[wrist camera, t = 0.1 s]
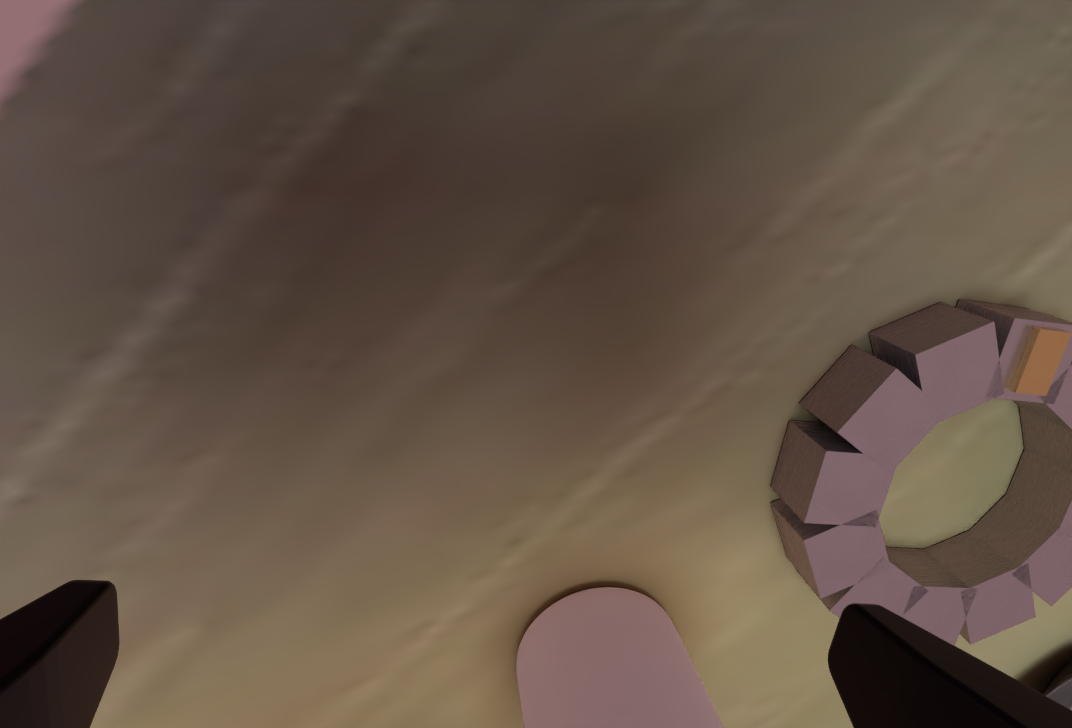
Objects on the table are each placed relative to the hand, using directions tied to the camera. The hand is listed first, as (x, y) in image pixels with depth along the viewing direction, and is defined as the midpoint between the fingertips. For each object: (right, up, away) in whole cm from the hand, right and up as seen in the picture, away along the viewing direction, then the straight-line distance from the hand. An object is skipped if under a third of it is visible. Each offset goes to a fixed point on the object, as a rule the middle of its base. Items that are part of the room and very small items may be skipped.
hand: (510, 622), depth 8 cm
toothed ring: (+16, -1, +18) cm, 24 cm away
